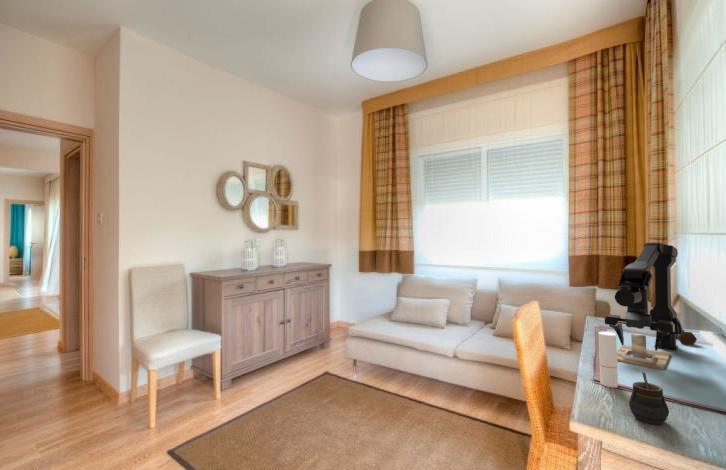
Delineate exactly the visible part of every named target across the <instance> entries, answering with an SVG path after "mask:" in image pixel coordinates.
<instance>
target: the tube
mask: <svg viewBox="0 0 726 470" xmlns="http://www.w3.org/2000/svg"><path fill="white" fill-rule="evenodd" d="M617 344H618V342H617V333H616V332H615V333H614V332H611V331H599V332H598V353H599V355H598V356H599V383H600V385H601V386H604V387H608V388H618V387H619V378H618V376H619V375H618V374H619V373H618V361H617V351H618V347H617Z"/></svg>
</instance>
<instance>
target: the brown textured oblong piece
mask: <svg viewBox="0 0 726 470" xmlns="http://www.w3.org/2000/svg"><path fill="white" fill-rule="evenodd" d="M682 330H683V331H682V334H678V335H677V334H676V339H677V340H678V341H679V342H680V343H681V345H686V346H693V345H694V344H695V343H696V342H697V340H698V339H697V337H696V335H694V334H693V332H691V331H685V330H684V328H682Z"/></svg>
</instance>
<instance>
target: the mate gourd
mask: <svg viewBox="0 0 726 470" xmlns="http://www.w3.org/2000/svg"><path fill="white" fill-rule="evenodd" d="M641 373H642V377H643V381H637V382H636V381H635V382H633V383H632V391H631V394H630V397H629V400H628V404H629V405H628V407H629V409H630V412H631V414H632V415H633V416H634V417H635V418H636V419H638V420H639V421H641V422H644V423H645V424H648V425H649V424H650V425H661V424H663V423H664V422H666V421H667V419H668V417H669V414H670V411H669V407H668V404H667V402H666V400H665V398H664V390H663V388H662V387H661V386H659V385H657V384H653V383H649V382H648V379H647V375H646V372H643V371H641Z"/></svg>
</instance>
